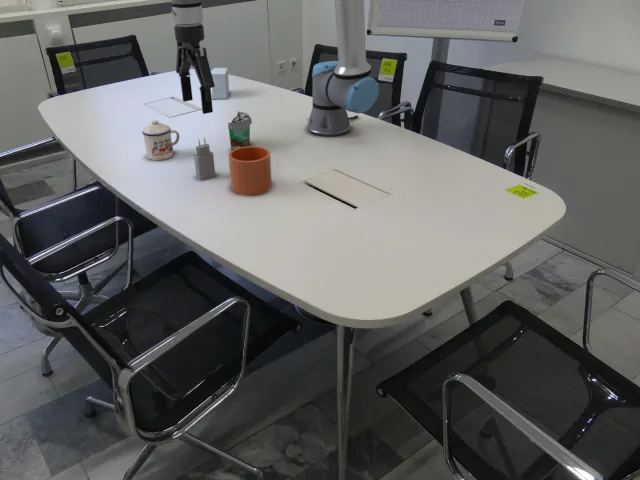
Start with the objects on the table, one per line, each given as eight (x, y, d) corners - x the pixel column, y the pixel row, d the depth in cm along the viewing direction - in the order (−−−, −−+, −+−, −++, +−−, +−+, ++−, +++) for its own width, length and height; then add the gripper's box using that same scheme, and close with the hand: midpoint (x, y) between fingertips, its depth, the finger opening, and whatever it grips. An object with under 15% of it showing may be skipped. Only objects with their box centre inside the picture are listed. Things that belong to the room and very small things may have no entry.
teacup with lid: (152, 163, 172) (146, 127, 165) (142, 154, 178) (136, 120, 171) (187, 154, 177) (182, 119, 170) (175, 146, 183) (170, 112, 177)
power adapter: (195, 177, 162) (190, 138, 155) (211, 172, 164) (207, 134, 158) (200, 180, 160) (195, 141, 153) (216, 175, 162) (212, 137, 155)
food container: (248, 153, 176) (246, 124, 170) (230, 152, 177) (227, 123, 171) (256, 140, 186) (255, 111, 180) (239, 139, 187) (237, 111, 181)
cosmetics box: (227, 99, 227) (225, 73, 221) (212, 99, 227) (210, 73, 221) (229, 92, 235) (227, 67, 230) (215, 92, 236) (212, 67, 230)
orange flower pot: (259, 174, 162) (257, 143, 156) (278, 188, 154) (277, 155, 148) (224, 184, 157) (221, 151, 151) (243, 199, 149) (240, 165, 143)
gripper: (157, 19, 145) (168, 98, 157) (194, 33, 128) (203, 120, 139) (183, 16, 149) (192, 93, 160) (223, 29, 131) (229, 115, 143)
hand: (197, 106), depth 150 cm, fingers open, 13 cm apart
